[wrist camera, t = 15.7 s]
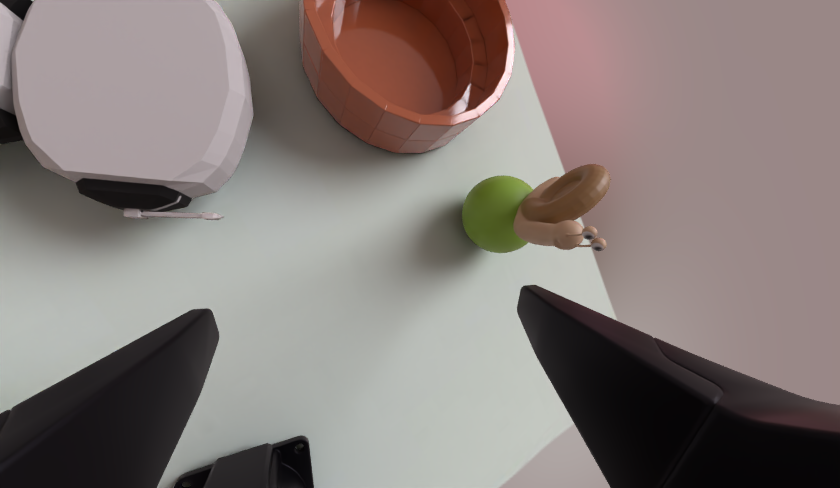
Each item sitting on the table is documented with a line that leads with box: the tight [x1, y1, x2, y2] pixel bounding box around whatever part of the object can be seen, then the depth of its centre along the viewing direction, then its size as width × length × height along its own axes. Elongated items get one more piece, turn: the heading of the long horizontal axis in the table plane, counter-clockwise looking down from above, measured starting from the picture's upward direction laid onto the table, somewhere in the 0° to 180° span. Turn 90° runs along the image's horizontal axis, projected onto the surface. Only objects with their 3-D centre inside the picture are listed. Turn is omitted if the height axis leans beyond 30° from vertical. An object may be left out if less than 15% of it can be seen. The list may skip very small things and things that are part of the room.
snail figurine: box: [462, 164, 611, 253], centre depth 18 cm, size 5×6×12 cm
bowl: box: [299, 0, 515, 153], centre depth 20 cm, size 13×13×5 cm
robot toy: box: [0, 0, 254, 220], centre depth 14 cm, size 12×4×15 cm
